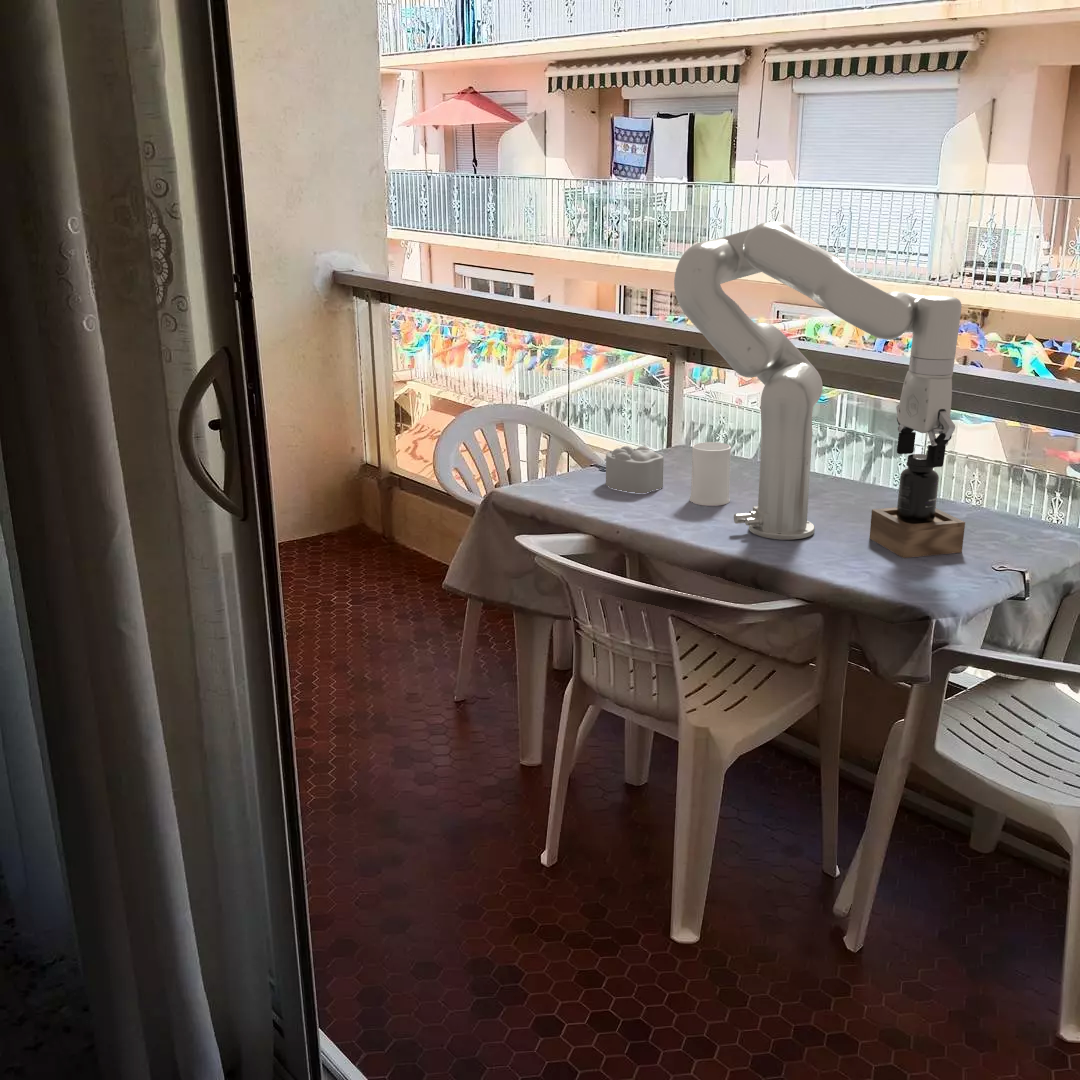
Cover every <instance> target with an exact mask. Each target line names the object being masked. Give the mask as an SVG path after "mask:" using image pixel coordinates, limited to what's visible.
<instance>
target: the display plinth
mask: <svg viewBox="0 0 1080 1080" xmlns="http://www.w3.org/2000/svg"><path fill="white" fill-rule="evenodd" d="M965 528H966V521H964V520H961V519H959V518H958V517H955V516H954V515H952V514H950V513H947V512H945V511H944V510H941V509H939V508H937V507H936V511H935V518H934V520H933V521H932V522H930V523H921V524H916V523H908V522H904V521H901V520H899V519H898V518H897V506H896V507H886V508H885V507H884V508H873V509H871V515H870V528H869V538H868V539H870V540H871V541H873V542H875V543H876V544H879V545H880V546H882V547H883V548H885V549H887V550H888V551H890V552H891V553H894V554H895V555H897V556H898V557H900V558H902V559H908V558H917V557H928V556H929V557H930V556H938V555H939V556H941V555H948V554H959V553H963V547H964V546H963V545H964V536H965Z"/></svg>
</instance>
